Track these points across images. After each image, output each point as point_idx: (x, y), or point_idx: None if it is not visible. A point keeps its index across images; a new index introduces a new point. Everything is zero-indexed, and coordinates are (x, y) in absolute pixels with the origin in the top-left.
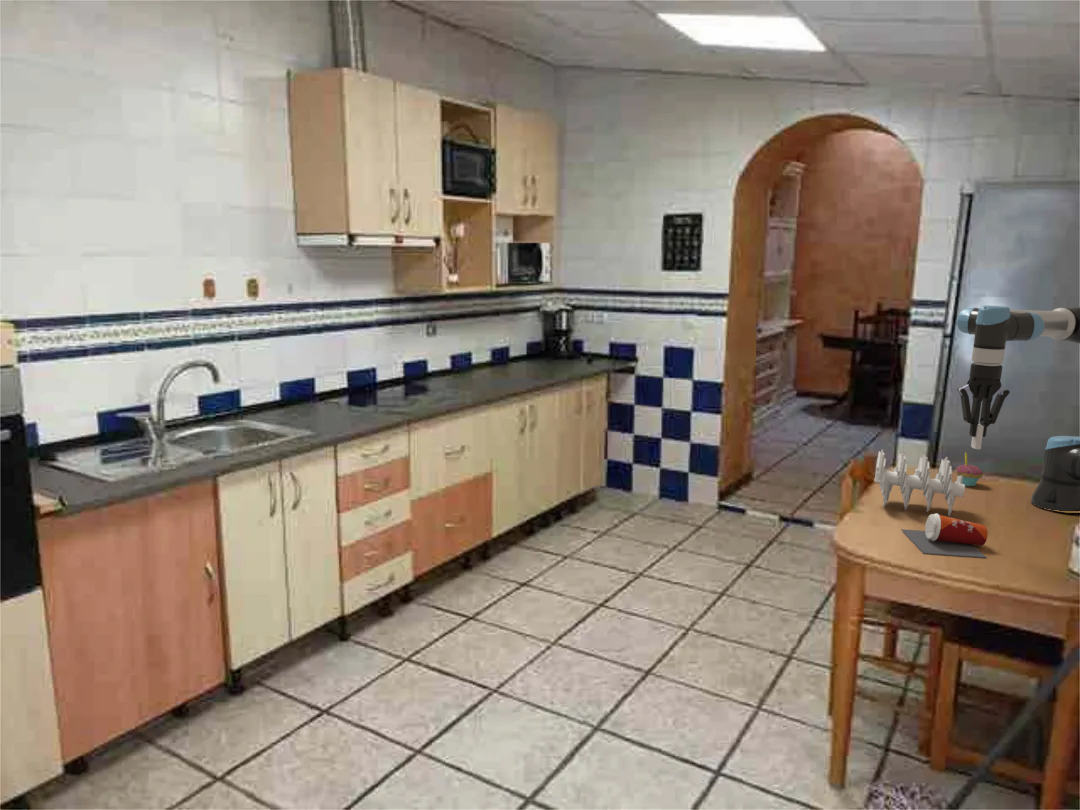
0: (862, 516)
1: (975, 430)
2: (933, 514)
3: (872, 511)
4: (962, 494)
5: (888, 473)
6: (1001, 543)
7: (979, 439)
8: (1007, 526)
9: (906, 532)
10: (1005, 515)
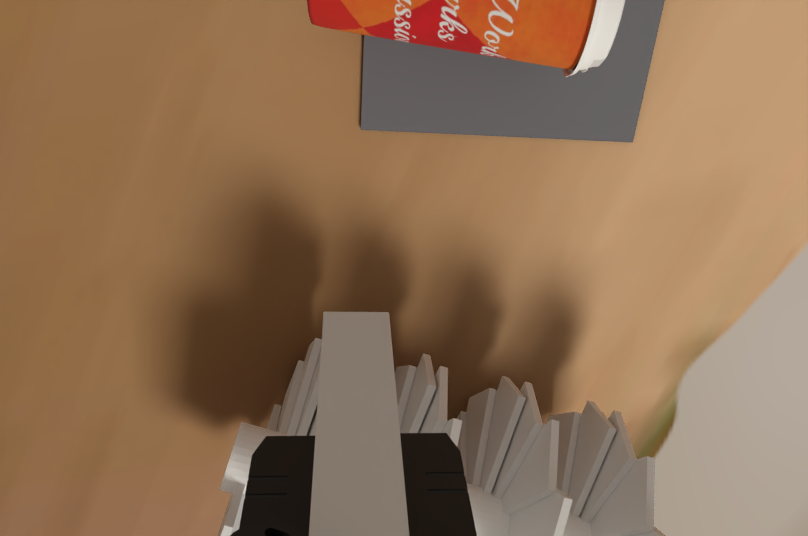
0: (710, 296)
1: (417, 503)
2: (617, 13)
3: (627, 362)
4: (245, 424)
5: None
6: (191, 19)
7: (352, 388)
8: (75, 268)
9: (630, 99)
10: (38, 402)
